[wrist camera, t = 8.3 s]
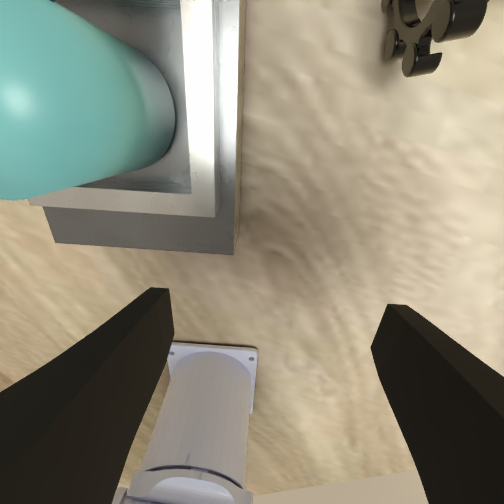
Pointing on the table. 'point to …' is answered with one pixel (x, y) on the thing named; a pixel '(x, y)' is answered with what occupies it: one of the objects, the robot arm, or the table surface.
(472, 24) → the valve
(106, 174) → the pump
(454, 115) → the table surface
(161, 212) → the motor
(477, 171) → the table surface
